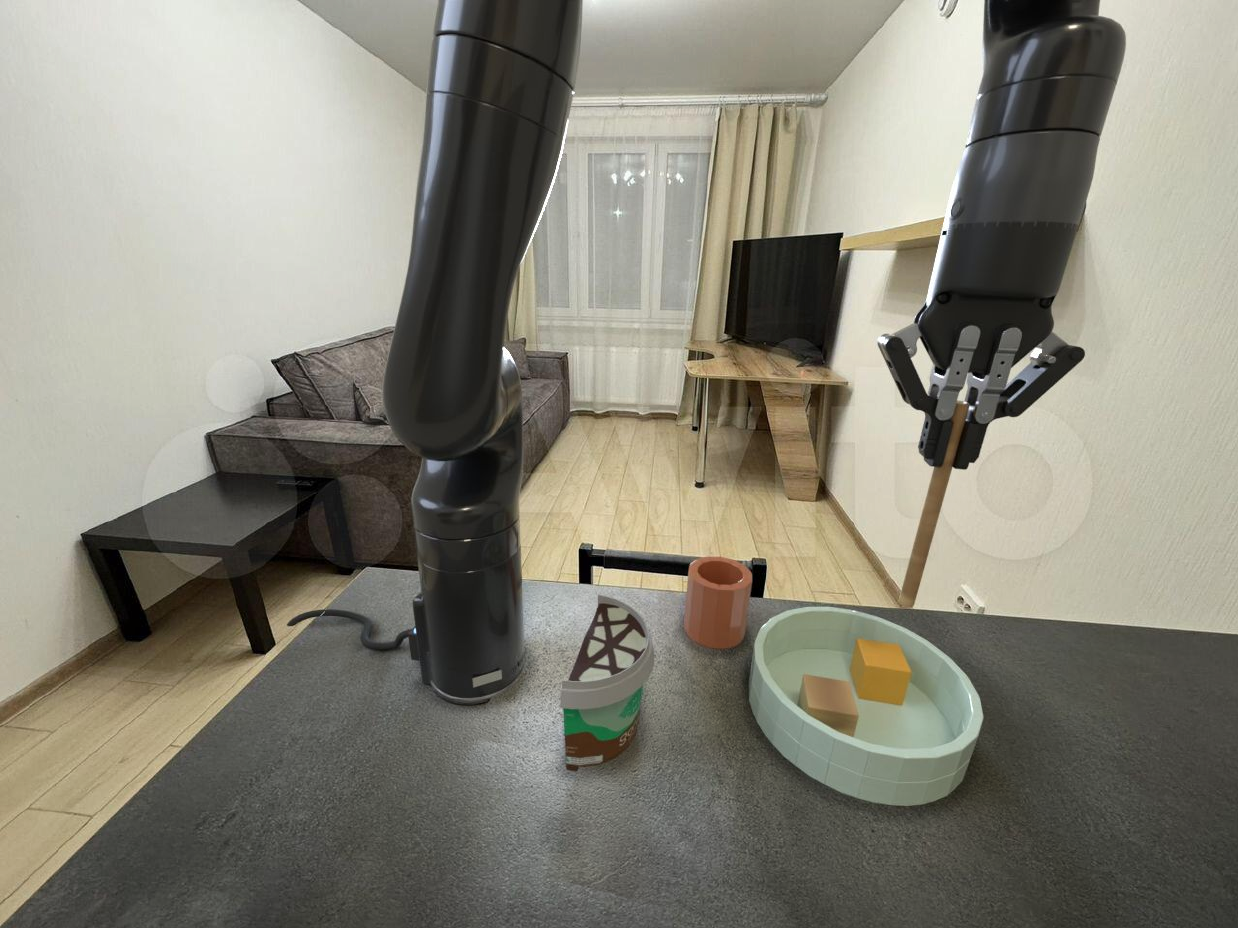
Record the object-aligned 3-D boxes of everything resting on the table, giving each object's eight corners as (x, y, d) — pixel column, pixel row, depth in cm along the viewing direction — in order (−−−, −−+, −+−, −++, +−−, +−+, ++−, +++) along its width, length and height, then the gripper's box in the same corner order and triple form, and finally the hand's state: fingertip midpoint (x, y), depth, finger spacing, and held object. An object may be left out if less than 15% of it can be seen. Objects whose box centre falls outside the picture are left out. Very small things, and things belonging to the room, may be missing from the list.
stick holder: (680, 647, 57) (686, 584, 54) (686, 610, 64) (691, 552, 61) (744, 658, 56) (753, 594, 53) (743, 619, 62) (751, 560, 60)
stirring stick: (900, 606, 45) (955, 403, 39) (896, 598, 46) (949, 399, 40) (915, 608, 45) (973, 404, 38) (911, 600, 46) (966, 401, 40)
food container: (637, 802, 40) (643, 700, 37) (560, 785, 41) (559, 685, 38) (658, 686, 52) (664, 600, 48) (597, 676, 53) (599, 591, 49)
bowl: (750, 782, 42) (758, 730, 40) (746, 636, 59) (752, 595, 57) (1006, 835, 39) (1029, 781, 37) (924, 664, 56) (936, 621, 54)
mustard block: (857, 698, 50) (866, 665, 49) (849, 669, 54) (856, 637, 52) (902, 706, 49) (912, 672, 48) (890, 676, 53) (899, 644, 52)
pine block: (801, 742, 45) (808, 706, 44) (796, 707, 49) (803, 673, 47) (850, 752, 44) (859, 715, 43) (841, 715, 48) (849, 681, 47)
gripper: (1089, 229, 37) (1017, 458, 43) (885, 225, 40) (843, 442, 46) (1169, 217, 30) (1070, 493, 36) (916, 214, 33) (862, 472, 39)
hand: (943, 464), depth 41 cm, fingers closed on stirring stick, 1 cm apart
